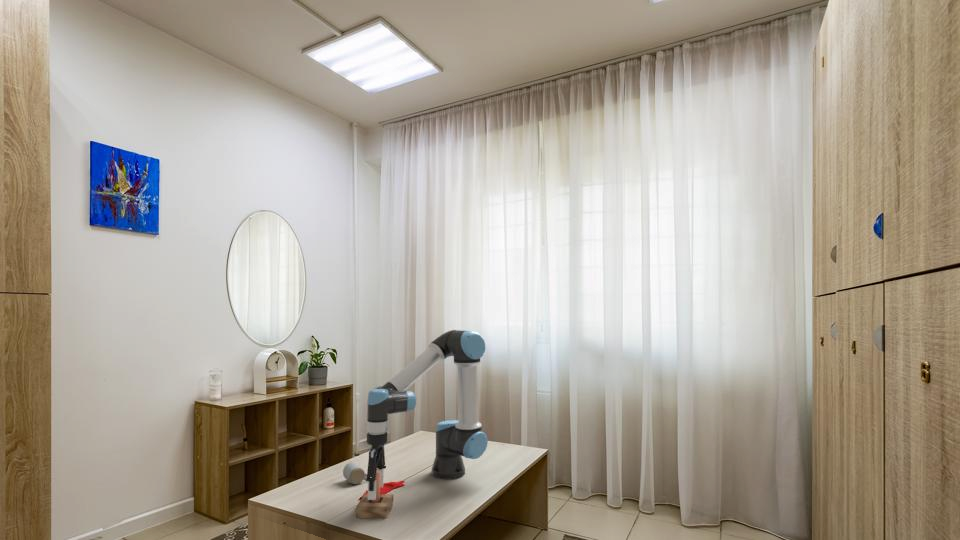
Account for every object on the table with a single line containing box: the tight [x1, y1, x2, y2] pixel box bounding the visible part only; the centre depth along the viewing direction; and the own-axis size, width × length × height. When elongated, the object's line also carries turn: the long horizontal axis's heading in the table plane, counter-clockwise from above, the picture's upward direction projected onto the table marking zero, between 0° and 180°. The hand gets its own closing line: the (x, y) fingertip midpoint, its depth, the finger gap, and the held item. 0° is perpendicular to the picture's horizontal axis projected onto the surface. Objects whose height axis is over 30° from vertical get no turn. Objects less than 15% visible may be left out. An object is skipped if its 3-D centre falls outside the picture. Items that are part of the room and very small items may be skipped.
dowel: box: [371, 471, 380, 503], centre depth 176 cm, size 3×3×14 cm
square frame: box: [355, 493, 395, 519], centre depth 176 cm, size 11×11×4 cm
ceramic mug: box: [342, 461, 367, 485], centre depth 205 cm, size 11×8×8 cm
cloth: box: [357, 480, 406, 502], centre depth 196 cm, size 26×14×2 cm, turn 131°
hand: (375, 493), depth 176 cm, fingers open, 11 cm apart
